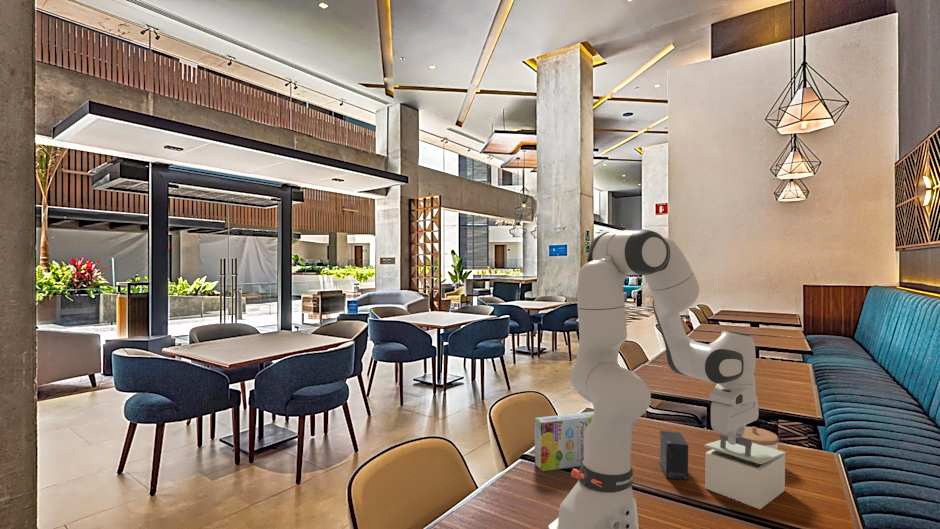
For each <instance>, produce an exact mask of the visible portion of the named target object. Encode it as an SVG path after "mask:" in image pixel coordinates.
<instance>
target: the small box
mask: <svg viewBox="0 0 940 529" xmlns="http://www.w3.org/2000/svg"><path fill="white" fill-rule="evenodd" d="M659 434H660V435H659V440H660V441H659V450H660V451H659V466H660V468H661V470H662V472H663V474H664V477H665V478H666V479H674V480H683V481H685V480H686V481H688V479H689V444H688V442H687V441H686V439H685V438H684V436H683V434H682V433H681V432H678V431H667V430H660V431H659Z"/></svg>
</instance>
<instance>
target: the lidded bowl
mask: <svg viewBox="0 0 940 529" xmlns="http://www.w3.org/2000/svg"><path fill="white" fill-rule="evenodd" d="M743 438H746V439H750V440H752V443H755V444H759V445H762V446H766V447H769V448H773V449H776V450H779V449H778V446H779V437H778V435H777V434H776V433H774V432H772V431H771V430H767V429H765V428H759V427H756V426H746V429H745V432H744V435H743Z"/></svg>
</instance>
